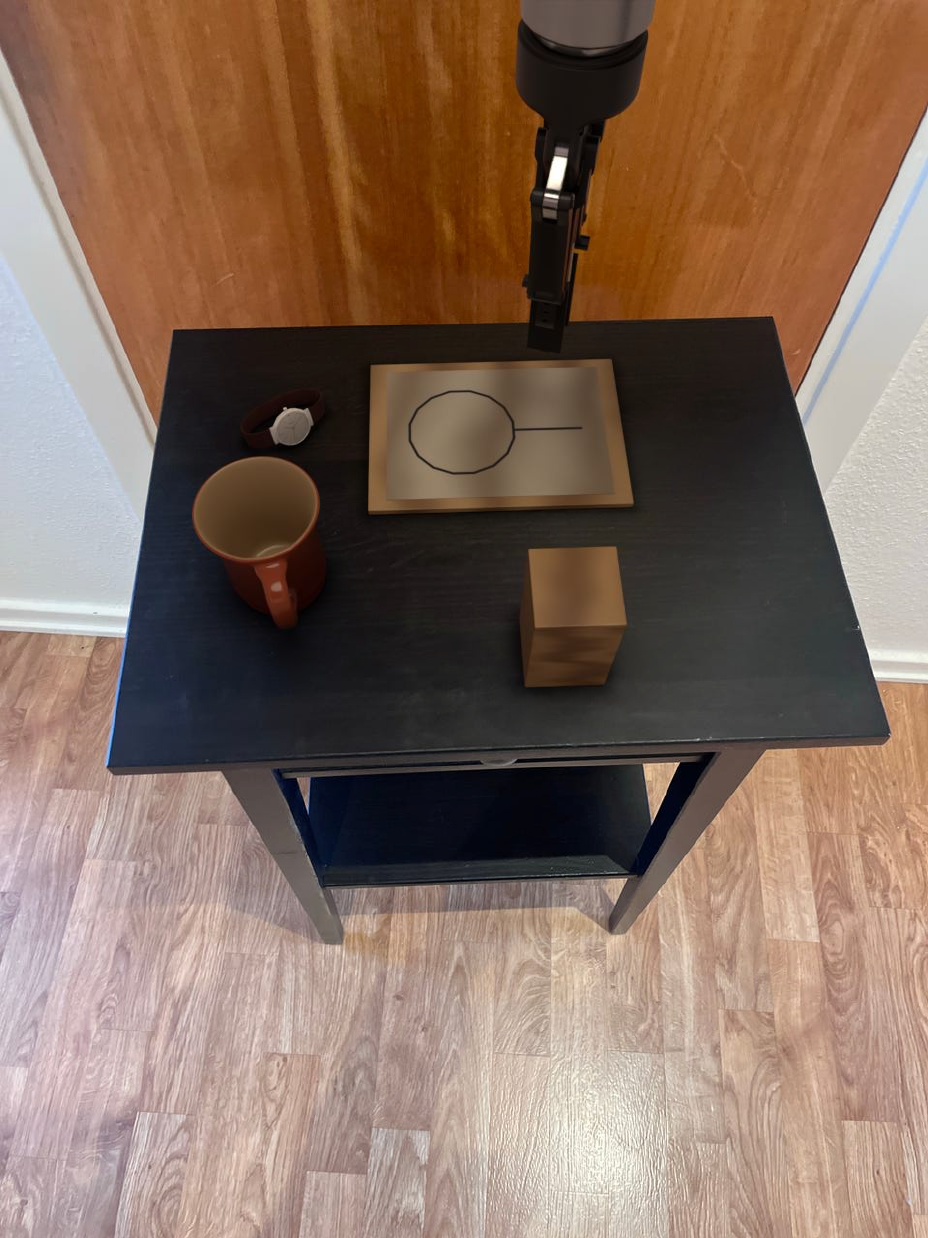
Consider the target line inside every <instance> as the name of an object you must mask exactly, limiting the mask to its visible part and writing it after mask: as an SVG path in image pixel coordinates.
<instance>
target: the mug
mask: <svg viewBox="0 0 928 1238" xmlns="http://www.w3.org/2000/svg"><path fill="white" fill-rule="evenodd" d="M320 506H321V501H320V493H319V490H318V488H317V485H316V483H315V482H314V480H313V478H312V477H311V476H310V475H309V473H307V472H306V471H305V470H304V469H303V468H302V467H300V466H299V465H297V464H296V463H293V462H292V461H289V460H287V459H284V458H279V457H274V456H266V455H264V456H263V455H262V456H250V457H245V458H240V459H237V460H235V461H232V462H230V463H228V464H226V465H223V466H222V467H221V468H219V469H217V470H216V471H215V472H214V473H212V474H211V475H210V476H209V477H208V478H207V479H206V480H205V481H204V482H203V484H202V485H201V487H200V488H199V490H198V491H197V494H196V495H195V498H194V501H193V505H192V510H191V511H192V514H191V516H192V523H193V524H192V525H193V528H194V530H195V533H196V535H197V537H198V538H199V540H200V542H201V543H202V544H203V545H204V546H205V547H206V548H207V549H208V550H210V551H211V552H212V553H213V554H214V555H216V556H218V557H219V558H220V559H221V562H222V564H223V567H224V570H225V572H226V574H227V577H228V579H229V582H230V585H231V586H232V588H233V590H234V592H236V594H237V595H238V596H239V597H240V598H241V599H242V600H243V601H244V602H245V603H246V604H247V605H248V606H249V607H250V608H252V610H255V611H257V612H259V613H261V614H263V615H268V616H271V618H272V620H273V622H274V624H275V625H276V627H277V628H279V629H281V630H286V629H291V628H295V627H296V626H297V625H298V623H299V613H298V612H301V611H302V610H304V609H306V608H308V607H309V606H311V604H312V603H313V602H314V601H315V600H316V599H317V597H318V596H319V595H320V593H321V592H322V590H323V588H324V585H325V581H326V575H327V555H326V551H325V548H324V546H323V543H322V540H321V537H320V533H319V531H318V528H317V523H318V519H319V516H320V511H321V510H320V509H321V508H320Z"/></svg>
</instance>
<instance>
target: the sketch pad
mask: <svg viewBox="0 0 928 1238" xmlns="http://www.w3.org/2000/svg"><path fill="white" fill-rule="evenodd" d="M369 380H370V382H369V385H370V386H369V436H368V437H369V439H368V440H369V441H368V446H369V447H368V494H367V495H368V497H367V498H368V499H367V501H368V502H367V504H368V505H367V511H368V515H369V516H370V515H371V516H372V515H402V514H407V515H408V514H439V513H441V514H442V513H470V512H471V513H472V512H473V513H474V512H476V513H477V512H509V511H510V512H511V511H544V510H545V511H547V510H572V509H573V510H580V509H612V508H613V509H615V508H633V507H634V495H633V490H632V482H631V476H630V471H629V464H628V457H627V450H626V444H625V438H624V432H623V431H624V430H623V425H622V424H623V423H622V420H621V419H622V418H621V412H620V404H619V399H618V391H617V386H616V379H615V373H614V366H613V361H612V358H594V359H558V360H557V359H556V360H519V361H517V360H516V361H515V360H514V361H477V362H476V361H473V362H439V363H438V362H437V363H397V364H371V365H370V379H369Z"/></svg>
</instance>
